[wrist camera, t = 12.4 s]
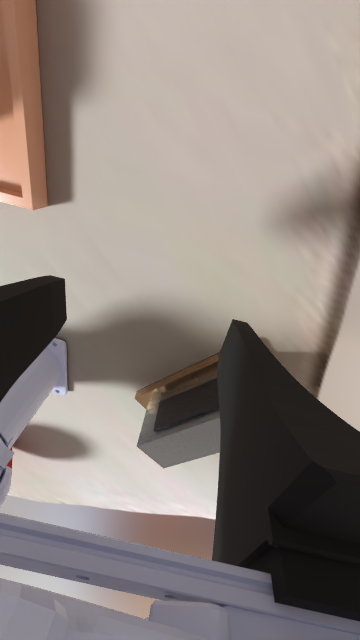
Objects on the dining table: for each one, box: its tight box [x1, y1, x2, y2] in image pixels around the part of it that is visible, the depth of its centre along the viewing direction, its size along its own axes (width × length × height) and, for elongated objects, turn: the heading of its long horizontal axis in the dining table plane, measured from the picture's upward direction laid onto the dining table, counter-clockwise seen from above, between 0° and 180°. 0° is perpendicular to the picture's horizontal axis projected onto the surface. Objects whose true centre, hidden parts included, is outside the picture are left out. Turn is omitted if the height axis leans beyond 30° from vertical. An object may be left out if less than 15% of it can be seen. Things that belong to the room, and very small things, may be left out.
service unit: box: [135, 353, 221, 468], centre depth 24 cm, size 7×14×6 cm, turn 126°
